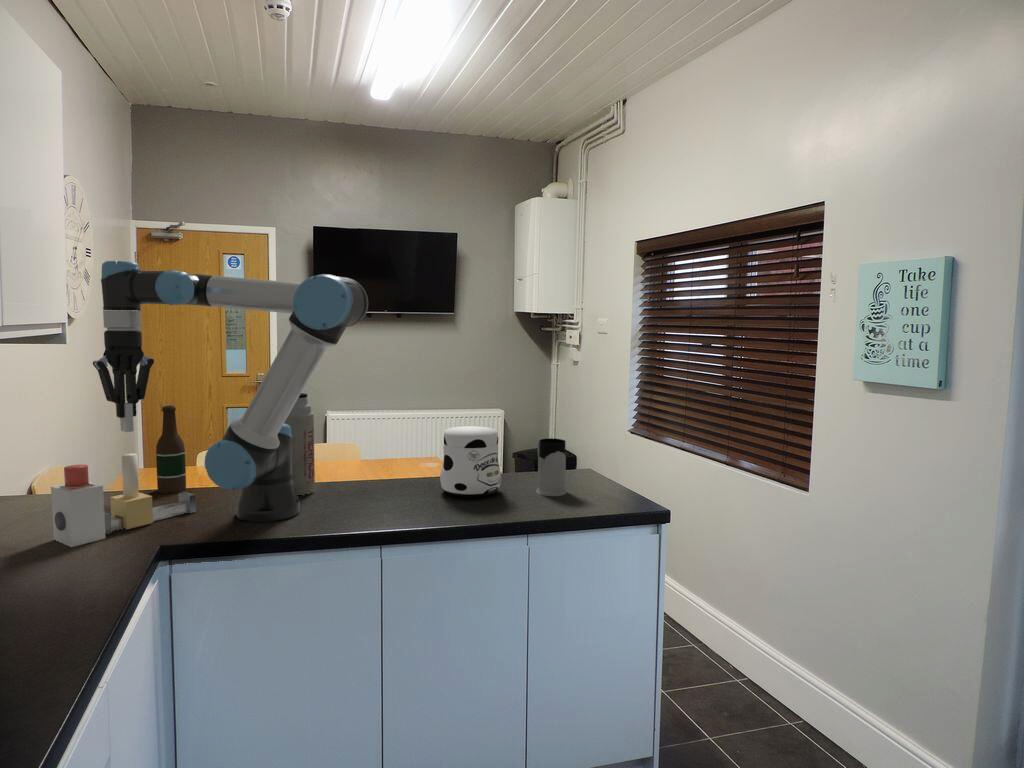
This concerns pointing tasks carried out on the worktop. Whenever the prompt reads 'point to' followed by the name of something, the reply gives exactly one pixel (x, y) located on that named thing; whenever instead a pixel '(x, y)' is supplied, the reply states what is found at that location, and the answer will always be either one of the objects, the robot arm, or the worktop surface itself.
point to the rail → (157, 511)
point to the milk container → (470, 461)
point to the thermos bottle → (302, 445)
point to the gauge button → (76, 475)
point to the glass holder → (551, 467)
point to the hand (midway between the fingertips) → (127, 431)
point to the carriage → (132, 497)
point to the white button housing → (78, 514)
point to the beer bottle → (170, 456)
